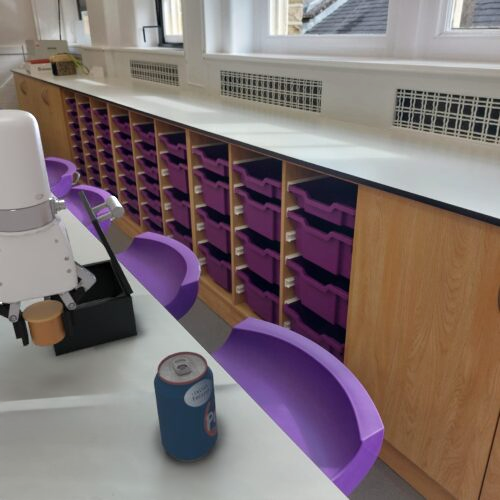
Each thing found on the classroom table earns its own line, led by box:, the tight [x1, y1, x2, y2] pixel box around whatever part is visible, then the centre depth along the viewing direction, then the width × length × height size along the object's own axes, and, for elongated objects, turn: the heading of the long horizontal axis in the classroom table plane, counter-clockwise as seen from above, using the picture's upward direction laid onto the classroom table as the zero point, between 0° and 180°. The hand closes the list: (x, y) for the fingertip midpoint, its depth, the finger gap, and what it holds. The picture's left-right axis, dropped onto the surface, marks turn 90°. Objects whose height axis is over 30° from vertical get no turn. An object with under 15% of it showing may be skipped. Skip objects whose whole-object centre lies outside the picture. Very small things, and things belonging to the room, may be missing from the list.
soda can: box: [153, 351, 219, 463], centre depth 59 cm, size 7×7×12 cm
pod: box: [22, 300, 65, 347], centre depth 67 cm, size 5×5×4 cm
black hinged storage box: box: [43, 258, 138, 357], centre depth 83 cm, size 13×16×9 cm
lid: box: [77, 190, 134, 295], centre depth 81 cm, size 14×16×5 cm
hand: (48, 334), depth 68 cm, fingers closed on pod, 5 cm apart
